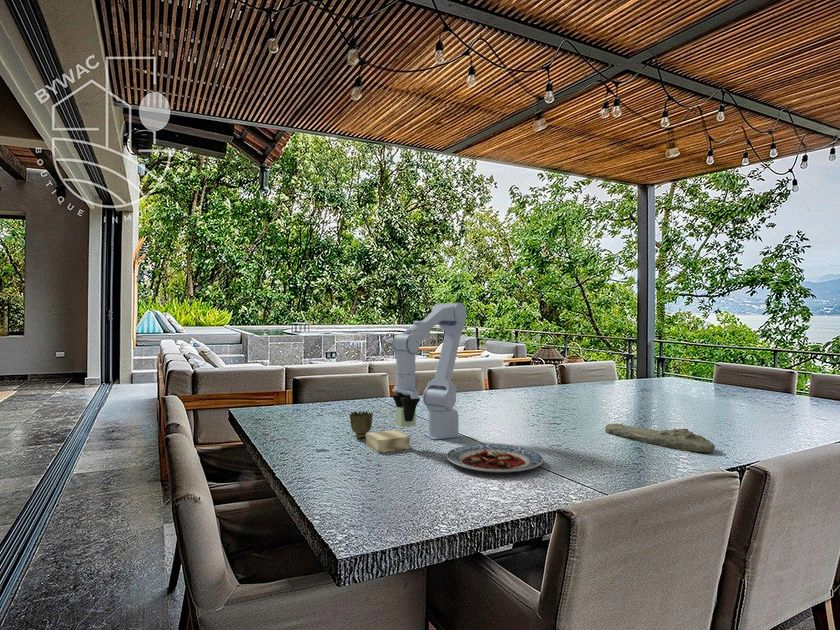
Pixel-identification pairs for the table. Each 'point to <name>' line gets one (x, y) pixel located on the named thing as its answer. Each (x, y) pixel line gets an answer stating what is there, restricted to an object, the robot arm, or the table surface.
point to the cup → (361, 423)
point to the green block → (401, 419)
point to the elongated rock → (663, 437)
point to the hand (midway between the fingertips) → (405, 419)
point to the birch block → (387, 441)
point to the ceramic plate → (495, 458)
